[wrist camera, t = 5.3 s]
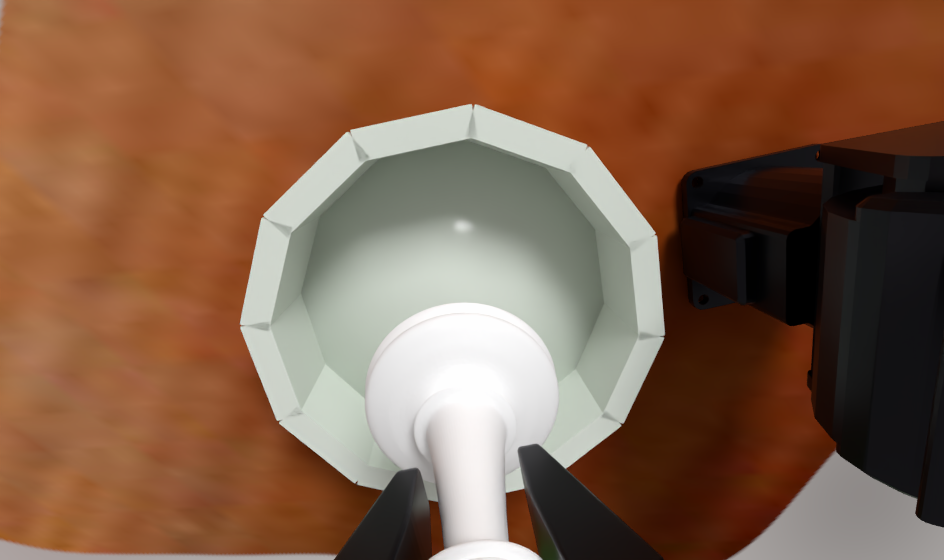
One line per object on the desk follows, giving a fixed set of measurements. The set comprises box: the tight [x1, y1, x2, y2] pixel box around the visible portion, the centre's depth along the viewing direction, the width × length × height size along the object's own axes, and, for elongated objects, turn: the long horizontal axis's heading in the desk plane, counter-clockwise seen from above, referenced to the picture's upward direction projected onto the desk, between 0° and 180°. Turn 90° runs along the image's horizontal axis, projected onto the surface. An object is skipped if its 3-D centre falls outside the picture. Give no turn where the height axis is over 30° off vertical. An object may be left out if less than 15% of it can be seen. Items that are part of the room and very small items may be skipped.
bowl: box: [240, 104, 665, 502], centre depth 18 cm, size 15×15×4 cm
